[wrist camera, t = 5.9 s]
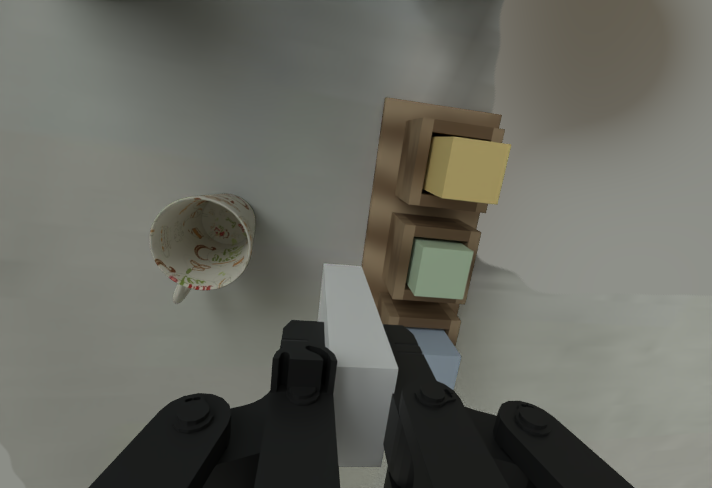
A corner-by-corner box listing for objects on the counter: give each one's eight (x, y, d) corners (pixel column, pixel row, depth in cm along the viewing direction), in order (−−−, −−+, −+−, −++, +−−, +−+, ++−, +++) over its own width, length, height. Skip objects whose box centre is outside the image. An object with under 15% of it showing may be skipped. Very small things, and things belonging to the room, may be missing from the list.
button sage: (405, 229, 40) (423, 247, 33) (447, 233, 41) (473, 251, 34) (398, 270, 41) (414, 295, 35) (439, 274, 42) (462, 299, 35)
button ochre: (427, 136, 35) (453, 136, 29) (475, 143, 36) (511, 144, 29) (418, 187, 37) (441, 198, 30) (464, 192, 37) (497, 204, 31)
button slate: (396, 318, 41) (411, 353, 34) (437, 321, 41) (461, 356, 35) (389, 356, 42) (403, 398, 35) (430, 358, 43) (451, 399, 36)
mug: (278, 204, 40) (267, 225, 31) (232, 297, 43) (208, 342, 33) (207, 168, 38) (170, 178, 29) (163, 267, 41) (116, 307, 31)
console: (385, 98, 38) (399, 89, 31) (498, 115, 40) (535, 110, 33) (348, 358, 47) (354, 395, 40) (443, 363, 48) (463, 398, 42)
